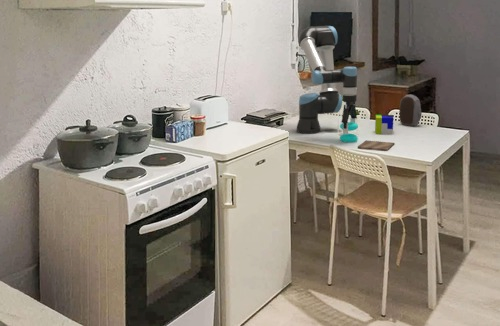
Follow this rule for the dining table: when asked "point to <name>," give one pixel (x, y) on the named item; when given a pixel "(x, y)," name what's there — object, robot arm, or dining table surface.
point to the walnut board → (376, 145)
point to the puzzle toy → (384, 124)
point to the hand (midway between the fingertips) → (349, 131)
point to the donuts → (349, 136)
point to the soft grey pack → (410, 110)
